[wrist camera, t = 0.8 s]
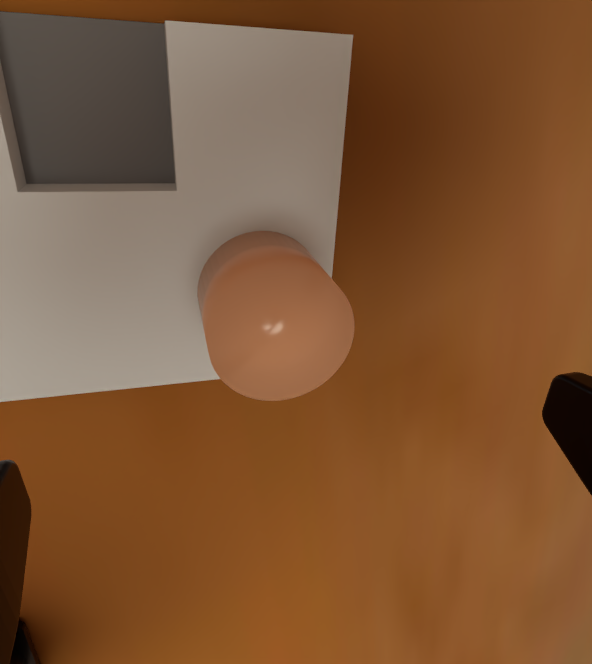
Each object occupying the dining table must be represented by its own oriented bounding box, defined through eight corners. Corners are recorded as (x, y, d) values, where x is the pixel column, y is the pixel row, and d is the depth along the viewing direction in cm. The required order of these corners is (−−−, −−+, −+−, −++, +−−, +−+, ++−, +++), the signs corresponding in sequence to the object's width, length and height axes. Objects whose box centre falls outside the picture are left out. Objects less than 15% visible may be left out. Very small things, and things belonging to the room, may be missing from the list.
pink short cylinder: (315, 340, 21) (347, 392, 18) (200, 350, 20) (210, 408, 17) (323, 228, 19) (362, 264, 15) (193, 232, 18) (204, 272, 14)
